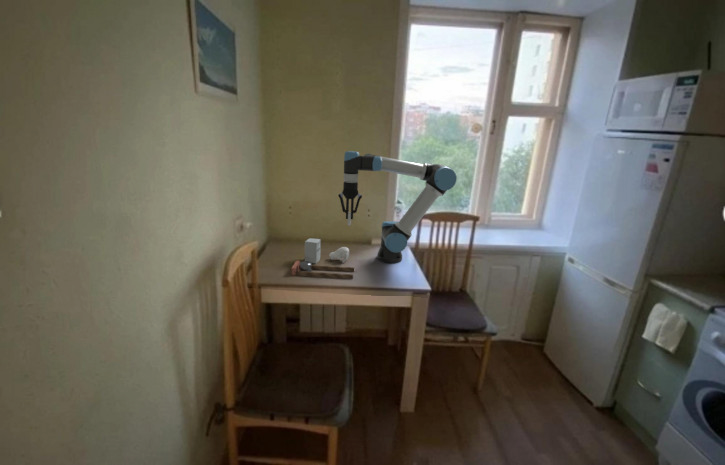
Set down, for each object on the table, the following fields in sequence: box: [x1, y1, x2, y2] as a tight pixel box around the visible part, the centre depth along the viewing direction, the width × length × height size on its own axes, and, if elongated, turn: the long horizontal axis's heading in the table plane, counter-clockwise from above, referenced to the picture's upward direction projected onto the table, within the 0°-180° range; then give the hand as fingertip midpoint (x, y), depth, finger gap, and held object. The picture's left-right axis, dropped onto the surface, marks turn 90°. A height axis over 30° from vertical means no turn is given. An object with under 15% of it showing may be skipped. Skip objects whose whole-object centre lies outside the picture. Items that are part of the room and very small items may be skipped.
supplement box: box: [304, 238, 321, 265], centre depth 195 cm, size 7×7×13 cm
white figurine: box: [328, 246, 350, 264], centre depth 198 cm, size 6×8×12 cm
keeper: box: [299, 260, 312, 272], centre depth 181 cm, size 6×6×5 cm
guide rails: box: [294, 264, 355, 280], centre depth 181 cm, size 30×10×2 cm, turn 87°
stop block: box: [291, 260, 301, 276], centre depth 181 cm, size 2×10×4 cm, turn 177°
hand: (349, 224), depth 184 cm, fingers closed
